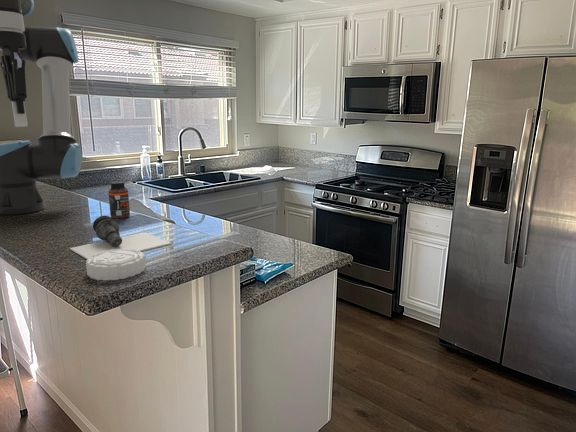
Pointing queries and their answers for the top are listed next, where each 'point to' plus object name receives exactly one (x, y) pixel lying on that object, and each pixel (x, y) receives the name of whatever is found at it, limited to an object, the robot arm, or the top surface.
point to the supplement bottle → (119, 200)
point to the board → (122, 245)
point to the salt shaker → (107, 230)
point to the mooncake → (115, 264)
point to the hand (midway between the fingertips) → (21, 126)
